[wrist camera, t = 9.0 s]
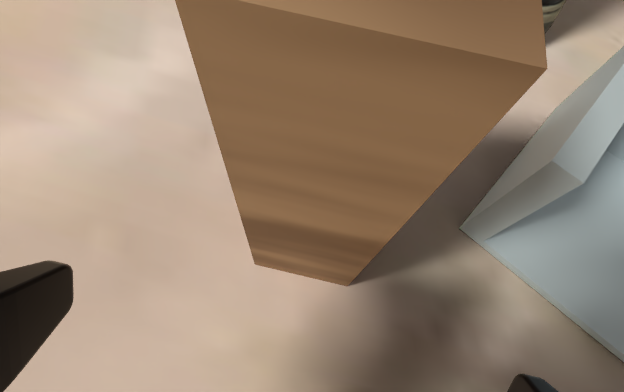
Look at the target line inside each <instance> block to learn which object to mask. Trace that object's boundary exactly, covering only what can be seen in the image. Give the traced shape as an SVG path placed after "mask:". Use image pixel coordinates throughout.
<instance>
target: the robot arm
mask: <svg viewBox="0 0 624 392" xmlns="http://www.w3.org/2000/svg"><path fill="white" fill-rule="evenodd" d="M72 303H73V270H72V268H71V266H69V265H68V264H64V263H60V262H56V261H43V262H39V263H35V264H31V265H27V266H23V267H19V268H15V269H11V270H7V271H2V272H0V392H3V391H4V390H5V389H6V388H7V387H8V386H9V385H10V384H11V383H12V381H13V380H14V379H15V378H16V377H17V375H18V374H19V373H20V372H21V371H22V370H23V368H24V367H25V366H26V365H27V363H28V362H29V361H30V359H31V358H32V357H33V356H34V354H35V353H36V352H37V351H38V349H39V348H40V347H41V346H42V344H43V343H44V342H45V341H46V339H47V338H48V337H49V335H50V334H51V333H52V332H53V330H54V329H55V328H56V327H57V325H58V324H59V323H60V322H61V320H62V319H63V318H64V317H65V315H66V314H67V313H68V311H69V310H70V308H71V306H72ZM507 392H558V391H557V390H556V389H554V388H553V387H552V386H551V385H550V384H548V383H547V382H546V381H545V380H543V379H541V378H539V377H535V376H531V375H526V374H518V375H517V376H516V377H515V378H514V380H513V382H512V384H511V385H510V387H509V389H508V391H507Z"/></svg>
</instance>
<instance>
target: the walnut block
mask: <svg viewBox="0 0 624 392" xmlns="http://www.w3.org/2000/svg"><path fill="white" fill-rule="evenodd" d="M175 1H176V5H177V8H178V11H179V15H180V18H181V21H182V25H183V28H184V31H185V35H186V38H187V41H188V44H189V48H190V51H191V54H192V58H193V61H194V64H195V68H196V71H197V74H198V77H199V81H200V84H201V87H202V91H203V94H204V97H205V101H206V104H207V107H208V111H209V114H210V117H211V120H212V124H213V127H214V130H215V134H216V137H217V140H218V144H219V147H220V150H221V154H222V157H223V160H224V163H225V167H226V170H227V173H228V177H229V180H230V183H231V187H232V190H233V193H234V196H235V200H236V203H237V206H238V210H239V213H240V216H241V220H242V223H243V226H244V230H245V233H246V236H247V239H248V243H249V246H250V249H251V253H252V256H253V259H254V263H255V264H256V265H260V266H264V267H268V268H273V269H277V270H281V271H285V272H289V273H294V274H298V275H302V276H306V277H310V278H315V279H319V280H323V281H327V282H331V283H336V284H340V285H344V286H348V285H349V284H350V283H351V282H352V281H353V280H354V279H355V277H356V276H357V275H358V274H359V273H360V272H361V271H362V270H363V269H364V268H365V267H366V265H367V264H368V263H369V262H370V261H371V260H372V259H373V258H374V257H375V256H376V255H377V254H378V252H379V251H380V250H381V249H382V248H383V247H384V246H385V245H386V244H387V243H388V242H389V240H390V239H391V238H392V237H393V236H394V235H395V234H396V233H397V232H398V231H399V230H400V228H401V227H402V226H403V225H404V224H405V223H406V222H407V221H408V220H409V219H410V218H411V216H412V215H413V214H414V213H415V212H416V211H417V210H418V209H419V208H420V207H421V206H422V204H423V203H424V202H425V201H426V200H427V199H428V198H429V197H430V196H431V195H432V194H433V193H434V191H435V190H436V189H437V188H438V187H439V186H440V185H441V184H442V183H443V182H444V181H445V179H446V178H447V177H448V176H449V175H450V174H451V173H452V172H453V171H454V170H455V169H456V167H457V166H458V165H459V164H460V163H461V162H462V161H463V160H464V159H465V158H466V157H467V155H468V154H469V153H470V152H471V151H472V150H473V149H474V148H475V147H476V146H477V145H478V143H479V142H480V141H481V140H482V139H483V138H484V137H485V136H486V135H487V134H488V133H489V132H490V130H491V129H492V128H493V127H494V126H495V125H496V124H497V123H498V122H499V121H500V120H501V118H502V117H503V116H504V115H505V114H506V113H507V112H508V111H509V110H510V109H511V108H512V106H513V105H514V104H515V103H516V102H517V101H518V100H519V99H520V98H521V97H522V96H523V94H524V93H525V92H526V91H527V90H528V89H529V88H530V87H531V86H532V85H533V84H534V83H535V81H536V80H537V79H538V78H539V77H540V76H541V75H542V74H543V73H544V72H545V71H546V69H547V60H546V47H545V35H544V23H543V10H542V0H175Z"/></svg>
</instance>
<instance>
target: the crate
mask: <svg viewBox="0 0 624 392" xmlns="http://www.w3.org/2000/svg"><path fill="white" fill-rule="evenodd" d="M459 229H461V230H462V231H463V232H464V233H466V234H467V235H468V236H469V237H470V238H472V239H473V240H474V241H475V242H477V243H478V244H479V245H480V246H482V247H483V248H484V249H485V250H486V251H488V252H489V253H490V254H491V255H493V256H494V257H495V258H496V259H497V260H499V261H500V262H501V263H502V264H504V265H505V266H506V267H507V268H509V269H510V270H511V271H512V272H513V273H515V274H516V275H517V276H518V277H520V278H521V279H522V280H523V281H524V282H526V283H527V284H528V285H529V286H531V287H532V288H533V289H534V290H536V291H537V292H538V293H539V294H540V295H542V296H543V297H544V298H545V299H547V300H548V301H549V302H550V303H552V304H553V305H554V306H555V307H556V308H558V309H559V310H560V311H561V312H563V313H564V314H565V315H566V316H567V317H569V318H570V319H571V320H572V321H574V322H575V323H576V324H577V325H579V326H580V327H581V328H582V329H583V330H585V331H586V332H587V333H588V334H590V335H591V336H592V337H593V338H594V339H596V340H597V341H598V342H599V343H601V344H602V345H603V346H604V347H606V348H607V349H608V350H609V351H610V352H612V353H613V354H614V355H615V356H617V357H618V358H619V359H620V360H622V361H623V362H624V46H623V47H622V48H621V49H620V50H619V51H618V52H617V53H616V54H615V55H613V56H612V57H611V58H610V59H609V60H608V61H607V62H606V63H605V64H604V65H602V66H601V67H600V68H599V69H598V70H597V71H596V72H595V73H594V74H593V75H592V76H590V77H589V78H588V79H587V80H586V81H585V82H584V83H583V84H582V85H581V86H579V87H578V88H577V89H576V90H575V91H574V92H573V93H572V94H571V95H570V96H568V97H567V98H566V99H565V100H564V101H563V102H562V103H561V104H560V105H559V106H557V107H556V108H555V110H554V111H553V112H552V113H551V115H550V116H549V117H548V118H547V120H546V121H545V122H544V123H543V125H542V126H541V127H540V128H539V130H538V131H537V132H536V133H535V134H534V136H533V137H532V138H531V139H530V141H529V142H528V143H527V144H526V146H525V147H524V148H523V149H522V151H521V152H520V153H519V154H518V156H517V157H516V158H515V159H514V161H513V162H512V163H511V164H510V166H509V167H508V168H507V169H506V171H505V172H504V173H503V174H502V176H501V177H500V178H499V179H498V180H497V182H496V183H495V184H494V185H493V187H492V188H491V189H490V190H489V192H488V193H487V194H486V195H485V197H484V198H483V199H482V200H481V202H480V203H479V204H478V205H477V207H476V208H475V209H474V210H473V212H472V213H471V214H470V215H469V217H468V218H467V219H466V220H465V222H464V223H463V224H462V225H461V226H460V228H459Z"/></svg>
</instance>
